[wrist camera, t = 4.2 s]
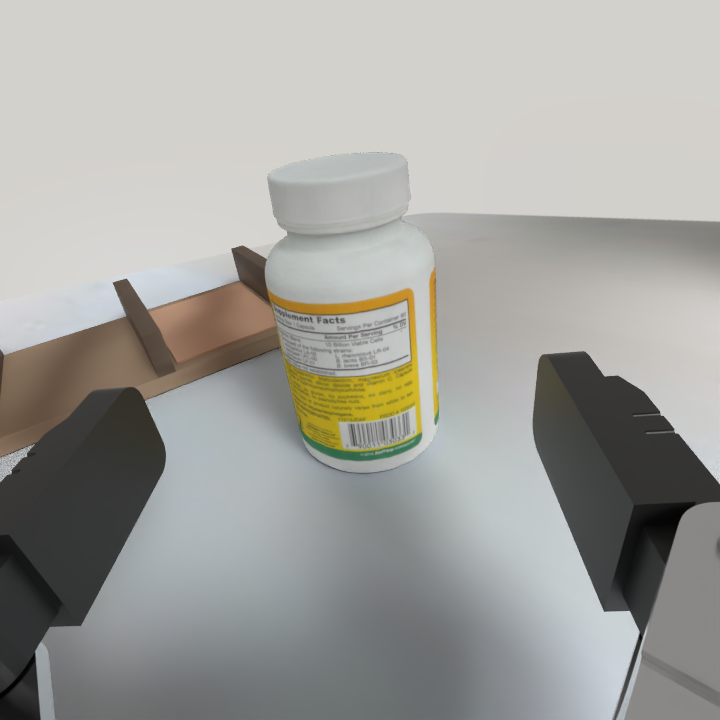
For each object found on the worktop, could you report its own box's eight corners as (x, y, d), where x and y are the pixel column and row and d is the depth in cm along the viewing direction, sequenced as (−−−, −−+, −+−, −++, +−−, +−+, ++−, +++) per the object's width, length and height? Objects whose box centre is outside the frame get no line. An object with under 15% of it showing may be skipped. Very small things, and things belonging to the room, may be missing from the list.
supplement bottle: (385, 502, 15) (346, 192, 10) (273, 443, 18) (200, 183, 13) (466, 411, 18) (467, 145, 13) (360, 374, 21) (328, 147, 16)
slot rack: (344, 258, 35) (338, 218, 34) (420, 291, 28) (418, 243, 27) (-7, 373, 26) (-37, 325, 24) (-18, 463, 19) (-61, 405, 17)
